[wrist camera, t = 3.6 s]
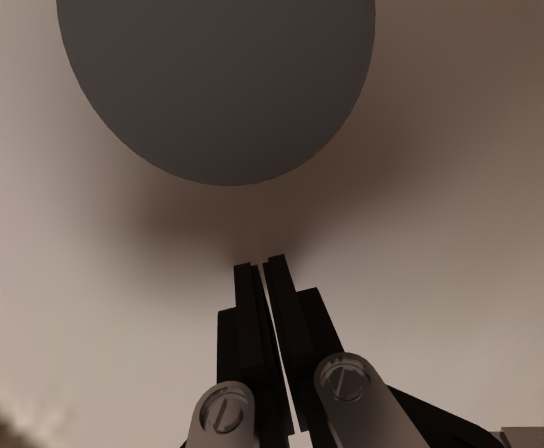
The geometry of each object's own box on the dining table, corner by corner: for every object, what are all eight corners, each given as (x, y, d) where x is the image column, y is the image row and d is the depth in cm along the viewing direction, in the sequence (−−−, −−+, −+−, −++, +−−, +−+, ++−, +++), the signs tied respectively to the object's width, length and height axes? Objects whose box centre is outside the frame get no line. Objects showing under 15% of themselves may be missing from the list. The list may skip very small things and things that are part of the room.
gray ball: (278, -136, 7) (391, -543, 2) (349, 102, 10) (476, 141, 5) (66, -20, 8) (-209, -164, 3) (187, 179, 10) (155, 288, 5)
